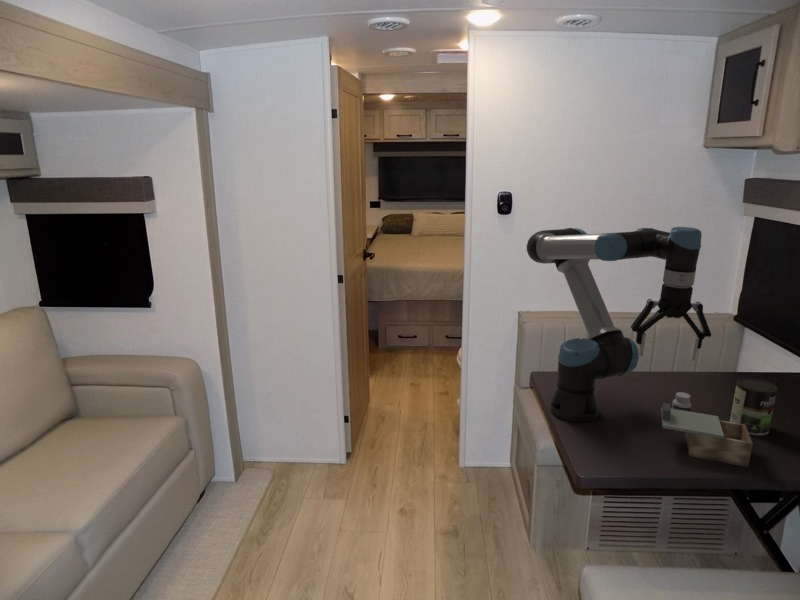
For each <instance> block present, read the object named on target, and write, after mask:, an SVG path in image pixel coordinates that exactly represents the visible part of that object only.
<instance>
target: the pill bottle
mask: <svg viewBox="0 0 800 600" xmlns="http://www.w3.org/2000/svg"><path fill="white" fill-rule="evenodd" d="M692 406H693V405H692V403H691V395H690V394H689V393H687V392H682V391H680V392H676V393H675V398H674V399H673V400H672V403H671V409H677V410H683V411H689V412H692Z"/></svg>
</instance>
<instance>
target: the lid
mask: <svg viewBox="0 0 800 600" xmlns="http://www.w3.org/2000/svg"><path fill="white" fill-rule="evenodd" d="M660 413H661V424H662V428H663V429H666V430H674V431H678V432H684V433H686V432H689V433H695V434H700V435H706V436H712V437H717V438H723V439H724V434H723V431H722V428H721V424H720V421H719V420H720V419H719V416H718V415H713V414H706V413H701V412H694V411H691V412H689V411H683V410H677V409H672V406H671V403H670V402H669V403H668V402H662V406H661V408H660Z"/></svg>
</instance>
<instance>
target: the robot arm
mask: <svg viewBox="0 0 800 600" xmlns="http://www.w3.org/2000/svg"><path fill="white" fill-rule="evenodd" d="M702 235H703V234H702V231H701V230H700V229H699V228H695V227H690V226H689V227H687V226H674V227H672V228H671V229H670V231H669V232H667V231H664V230H658V229H655V228H653V227H640V228H638V229H636V230H634V231H623V232H606V233H604V232H603V233H587V232H586V231H585V230H583V229H581V228H577V227H576V228H574V227H573V228H572V227H567V228H566V227H565V228H559V229H544V230H539V231H537V232H534V234H532V235H531V236H529V237H530V238H528V240H527V243H526V252H527V254H528V257H529V258H530V259H531V260H532V261H534V262H536V263H537V264H555V268H556V270H557V271H558V272H560V273H562V274H563V275H564V277H565V281H566V282H567V285H568V287H569V290H570V292H571V295H572V297H573V299H574V303H575V305H576V308H577V310H578V312H579V316H580V317H581V321H582V322H583V325H584V328H585V330H586V332H587V335H588V336H587V338H580V337H579V338H572V339H569V340H566V341H565V342H563V343H562V344H561V345H560V347H559V352H558V358H557V359H558V363H557V364H558V365H557V378H556V387H555V389H554V391H553V393H552V396H551V397H550V400H549V408H548V409H549V411H550V413H551V414H553V415H554V416H555V417H557V418H559V419H562V420H564V421H568V422H573V423H588V422H591V421H595V420H596V419H597V418H598V417H599V412H600V411H599V410H600V409H599V404H598V400H597V395H596V382H597V380H600V379H601V380H602V379H607V378H614V377H618V376H619V377H620V376H623V375H625V374H629V373H631V372H633V371H635V369H636V367H637V366H638V362H639V360H640V357H643V356H644V351H645V344H646V337H647V334H646V333H645V332H647V330H649V329H651V328H652V327H653V326H654V325H656V323H658V322H659V321H660V320H662V319H664V317H666V318H668V319H669V318H674V319H680V318H684V321H686V323H687V324H688V325H689V327H690V329H692V330H693V332H694V333H695V335H694V334H693V335H692V338H691V344H690V349H689V350H690V351H689V356H688V357H689V358H690V359H691V361H696V357H697V352H698V351H697V350H698V349H699V350H700V349H702V345H703V340H704V339H705V338H706V337H708V338H710V337H711V336H712V333H711V330H710V327H709V325H708V322H707V319H706V317H705V314H704V305H703V304H702V303H701V301H696V302H693V303H692V302H691V300H692V295H693V290H694V288H693V286H694V285H695V284H694V283H695V278H696V272H697V263H698V261H699V260H698V259H699V255H700V250H701V247H702ZM649 257H651V258H656V259H661V260H664V261H665V264H664V265H665V266H664V272H663V275H662V276H663V277H662V282H663V283H662V285H661V288H660V289H661V290H660V297H659V299H658V300H652V299H651V298H647V300H646V303H645V306H644V308H642V310H641V311H640V313H639V314H638V316H637V317H636V319H635V320H634V321H633V323H632V324H631V325H630V329H632V331H633V332H634V333H636V339H635V341H634V340H632V339H631V338H630V337H627V336H626V337H625V336H624V334H623V331H622V329H620V328H618V327H615V325H614V323H613V320H612V318H611V315H610V313H609V311H608V309H607V306H606V304H605V301H604V299H603V297H602V294H601V292H600V290H599V287H598V285H597V282H596V280H595V278H594V275H593V273H592V271H591V269H590V266H589V263H590V261H591V260H601V261H604V262H615V261H619V260H620V261H621V260H631V259H641V258H649ZM656 307H658V308H659V309H657V310H656V311H655V313H653V314H652V315H651V316H649V315H650V313H651V311H653V309H655V308H656ZM690 310H693V311H694V312H695V313H696V316H697V318H698V321H699V325H700V326H701V329H702V331H701V330H700V328H699V327H698V326H697V325H696V324H695V322H694V321H693V319H692V318H691V317H690V316H689V314H688V312H689V311H690ZM648 316H649V318H647V317H648ZM646 319H647V320H646ZM645 320H646V321H645ZM637 345H638V346H637Z"/></svg>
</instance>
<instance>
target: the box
mask: <svg viewBox="0 0 800 600" xmlns="http://www.w3.org/2000/svg"><path fill="white" fill-rule="evenodd" d="M719 421H720V424H721V428H722V431H723V434H724V439H723V438H717V437H712V436H706V435H700V434H695V433H689V432H685V442H686V447H687V455H688V456H689V457H692V458H697V459H698V458H699V459H704V460H709V461H714V462H719V463H725V464H730V465H734V466H739V467H744V468H749V466H750V464H749V463H750V459H751V455H752V450H753V445H754V443H753V441H752V438H751V436H750V434H749V433H748V430H747V428H746V425H745V424H740V423H734V422H729V421H727V420H720V419H719Z"/></svg>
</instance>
